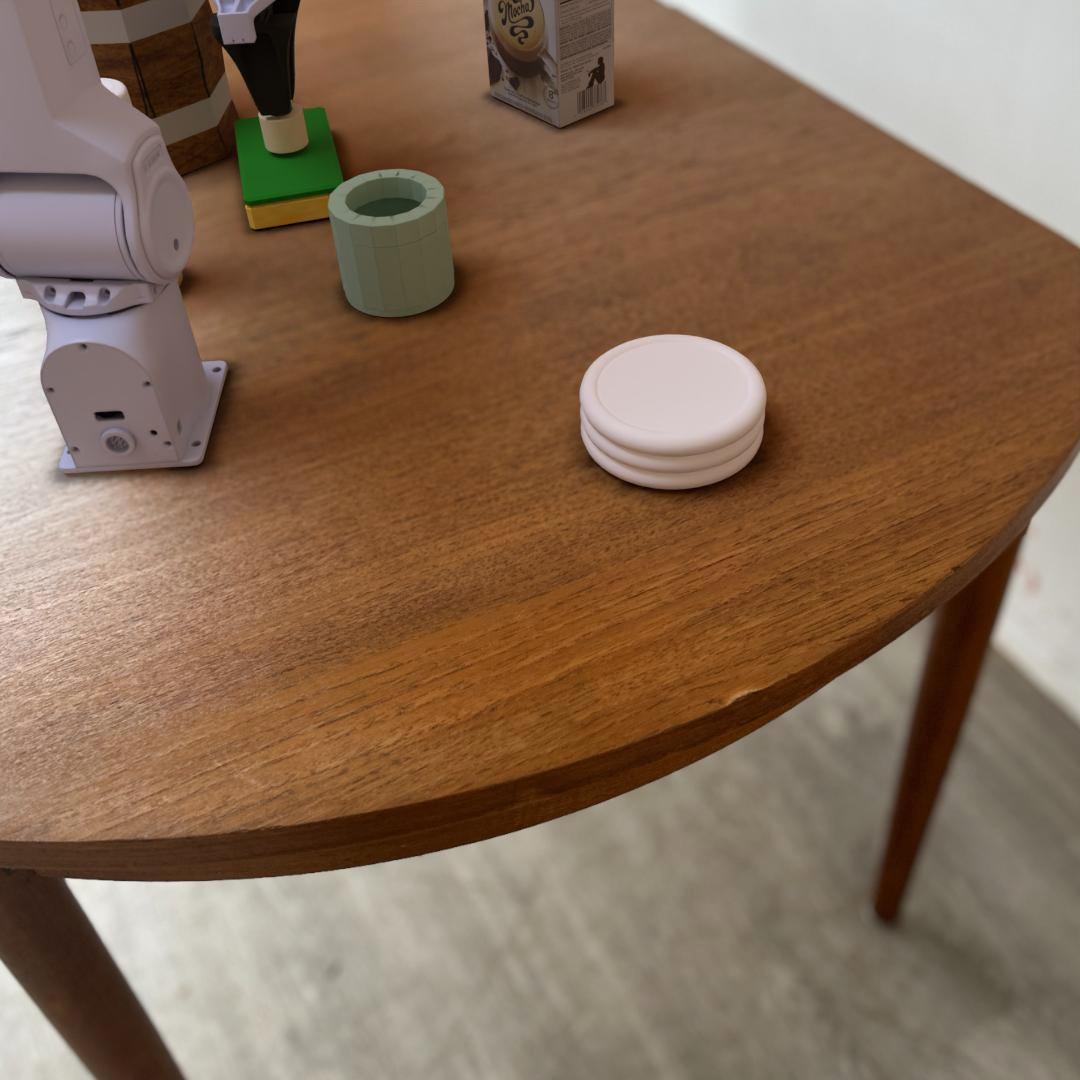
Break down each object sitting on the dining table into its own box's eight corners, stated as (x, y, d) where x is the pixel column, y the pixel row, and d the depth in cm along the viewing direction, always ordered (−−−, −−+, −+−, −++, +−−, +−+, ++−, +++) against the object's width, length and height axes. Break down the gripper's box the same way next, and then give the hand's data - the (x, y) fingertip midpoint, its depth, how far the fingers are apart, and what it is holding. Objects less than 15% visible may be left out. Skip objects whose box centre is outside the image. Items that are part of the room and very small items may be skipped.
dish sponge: (329, 134, 95) (324, 104, 94) (350, 215, 86) (344, 184, 84) (240, 147, 95) (233, 118, 93) (251, 232, 85) (243, 200, 83)
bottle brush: (306, 152, 87) (274, -4, 79) (262, 155, 87) (227, -1, 79) (310, 132, 89) (280, -21, 82) (268, 135, 89) (234, -18, 82)
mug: (256, 161, 93) (209, -43, 82) (79, 198, 90) (6, -8, 79) (219, 68, 106) (174, -117, 96) (64, 98, 103) (0, -90, 93)
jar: (453, 313, 76) (442, 221, 71) (340, 320, 76) (322, 229, 71) (455, 254, 81) (445, 165, 76) (350, 261, 81) (333, 172, 77)
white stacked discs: (562, 397, 69) (559, 347, 66) (726, 367, 70) (730, 317, 68) (608, 510, 62) (607, 458, 59) (790, 474, 63) (796, 422, 61)
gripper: (281, -67, 71) (322, 148, 81) (308, -136, 82) (341, 61, 91) (164, -59, 71) (219, 154, 81) (206, -129, 82) (250, 67, 91)
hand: (277, 106), depth 86 cm, fingers closed on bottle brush, 2 cm apart
